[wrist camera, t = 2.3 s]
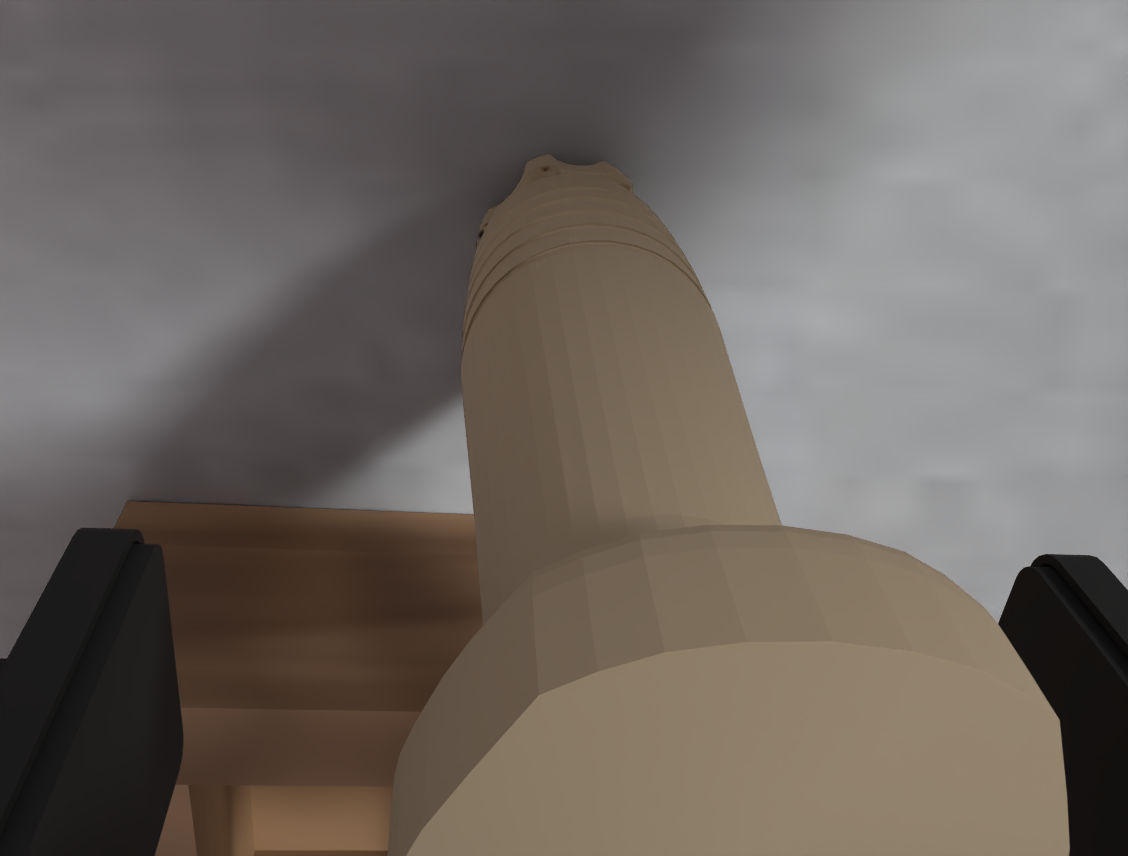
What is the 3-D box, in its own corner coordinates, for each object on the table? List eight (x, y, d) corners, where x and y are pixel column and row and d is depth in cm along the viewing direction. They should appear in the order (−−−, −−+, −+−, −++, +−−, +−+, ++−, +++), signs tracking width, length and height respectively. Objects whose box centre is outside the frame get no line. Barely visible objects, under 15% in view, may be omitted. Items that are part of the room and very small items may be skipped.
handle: (427, 361, 22) (359, 1182, 9) (454, 42, 18) (406, 618, 6) (653, 381, 22) (892, 1174, 10) (718, 77, 19) (1214, 662, 6)
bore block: (126, 500, 23) (27, 704, 18) (660, 521, 24) (709, 716, 19) (176, 849, 29) (113, 1074, 24) (599, 850, 30) (624, 1063, 25)
